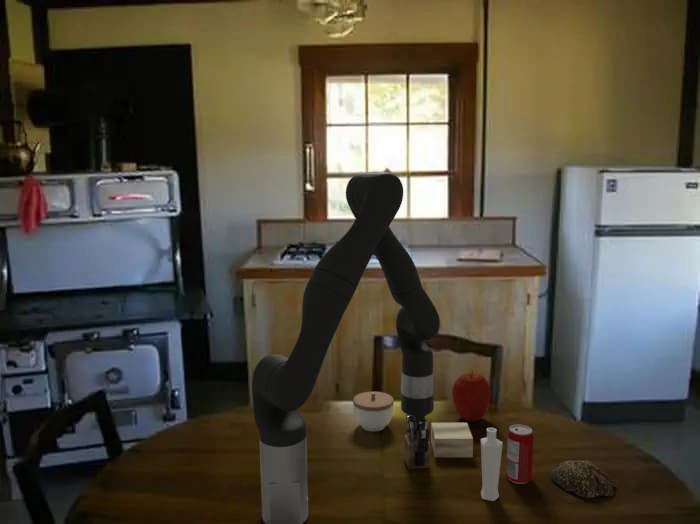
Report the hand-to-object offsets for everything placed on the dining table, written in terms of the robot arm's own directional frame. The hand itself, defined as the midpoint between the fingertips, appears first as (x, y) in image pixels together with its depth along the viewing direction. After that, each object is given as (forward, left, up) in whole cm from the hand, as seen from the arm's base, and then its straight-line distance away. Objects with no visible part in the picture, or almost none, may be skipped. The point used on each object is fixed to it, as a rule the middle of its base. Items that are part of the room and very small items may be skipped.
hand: (416, 459), depth 149 cm
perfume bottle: (-16, -12, -1) cm, 20 cm away
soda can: (-10, -21, -1) cm, 23 cm away
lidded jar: (+21, +7, -1) cm, 22 cm away
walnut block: (0, 0, -1) cm, 1 cm away
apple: (+22, -20, -1) cm, 30 cm away
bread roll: (-14, -34, -1) cm, 37 cm away
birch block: (+6, -10, -1) cm, 12 cm away
